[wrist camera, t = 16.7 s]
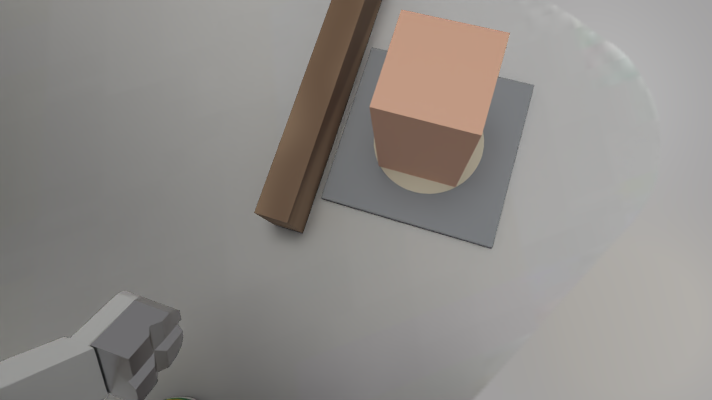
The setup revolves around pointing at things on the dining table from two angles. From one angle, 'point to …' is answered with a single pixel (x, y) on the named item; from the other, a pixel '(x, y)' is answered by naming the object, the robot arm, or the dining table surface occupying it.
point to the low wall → (317, 114)
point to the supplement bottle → (180, 398)
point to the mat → (421, 196)
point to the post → (434, 95)
